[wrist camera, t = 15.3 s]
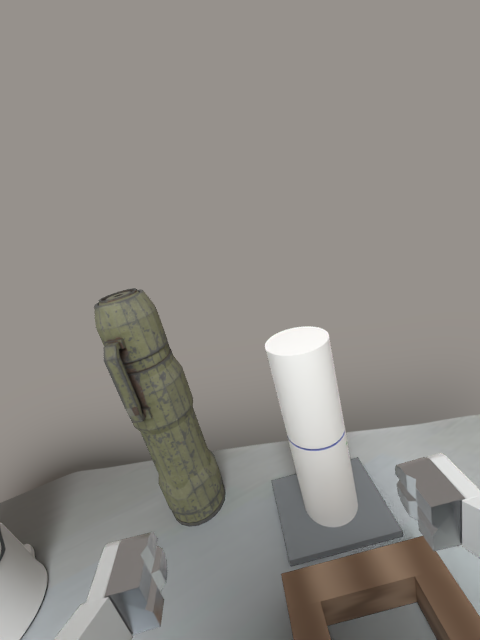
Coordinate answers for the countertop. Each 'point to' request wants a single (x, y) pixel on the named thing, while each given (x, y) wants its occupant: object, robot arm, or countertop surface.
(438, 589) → the pocket block
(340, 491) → the cylindrical container
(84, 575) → the countertop surface
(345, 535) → the rubber mat
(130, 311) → the thermos
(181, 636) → the countertop surface
